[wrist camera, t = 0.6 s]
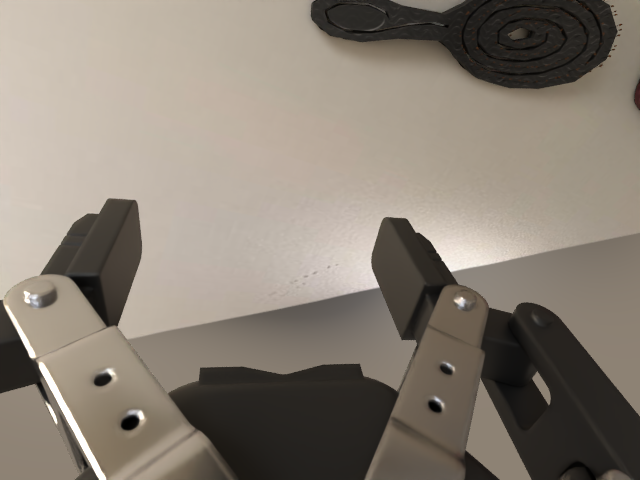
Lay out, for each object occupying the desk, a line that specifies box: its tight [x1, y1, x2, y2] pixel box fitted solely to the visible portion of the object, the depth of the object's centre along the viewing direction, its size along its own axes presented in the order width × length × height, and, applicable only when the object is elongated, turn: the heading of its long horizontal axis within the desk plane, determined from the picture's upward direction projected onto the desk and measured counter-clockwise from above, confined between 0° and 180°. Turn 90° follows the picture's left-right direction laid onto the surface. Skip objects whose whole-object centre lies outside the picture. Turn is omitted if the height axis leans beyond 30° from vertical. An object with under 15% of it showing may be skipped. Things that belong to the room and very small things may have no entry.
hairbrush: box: [311, 0, 622, 89], centre depth 31 cm, size 8×4×25 cm
